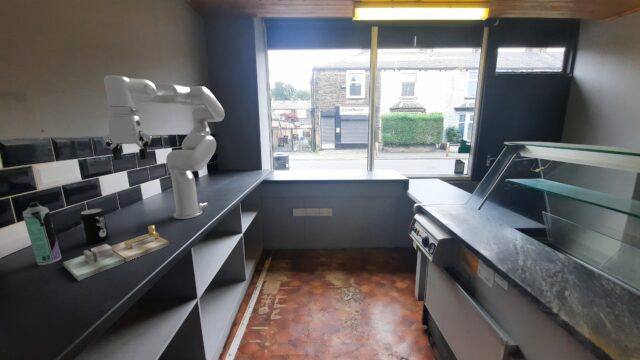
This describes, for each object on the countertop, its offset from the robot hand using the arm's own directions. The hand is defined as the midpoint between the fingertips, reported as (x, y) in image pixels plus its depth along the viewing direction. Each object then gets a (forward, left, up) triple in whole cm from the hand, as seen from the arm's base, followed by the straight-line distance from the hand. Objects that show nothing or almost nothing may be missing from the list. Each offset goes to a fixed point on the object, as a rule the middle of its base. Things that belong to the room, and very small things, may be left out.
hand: (131, 159), depth 95 cm
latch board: (+12, +11, -31) cm, 35 cm away
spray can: (+26, -5, -31) cm, 41 cm away
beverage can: (+12, -10, -31) cm, 34 cm away
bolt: (+5, +11, -29) cm, 31 cm away
